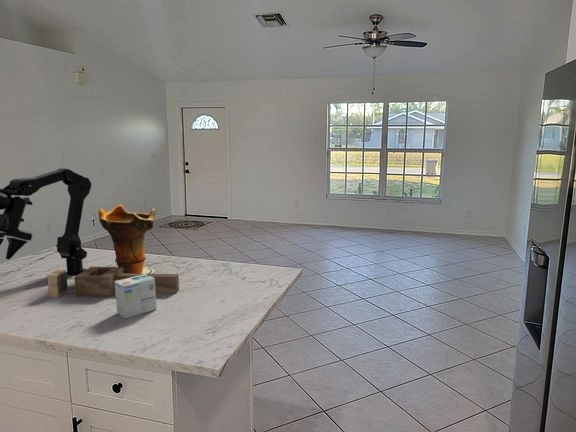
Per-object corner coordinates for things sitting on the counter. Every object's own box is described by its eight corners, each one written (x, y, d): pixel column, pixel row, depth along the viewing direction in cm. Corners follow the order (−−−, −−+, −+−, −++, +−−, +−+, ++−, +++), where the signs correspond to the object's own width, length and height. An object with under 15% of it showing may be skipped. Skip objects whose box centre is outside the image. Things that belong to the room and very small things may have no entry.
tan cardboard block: (59, 291, 152) (57, 269, 151) (68, 291, 152) (66, 269, 151) (49, 297, 147) (47, 275, 145) (59, 297, 146) (57, 275, 145)
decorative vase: (147, 282, 160) (139, 209, 156) (92, 282, 164) (82, 211, 159) (171, 266, 181) (164, 201, 176) (121, 266, 184) (113, 202, 180)
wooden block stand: (92, 284, 159) (91, 266, 158) (182, 285, 158) (181, 267, 157) (76, 296, 147) (74, 277, 146) (173, 297, 146) (172, 278, 145)
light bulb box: (147, 304, 141) (145, 272, 139) (157, 309, 136) (155, 277, 134) (115, 313, 133) (113, 280, 131) (125, 319, 129) (122, 285, 127)
